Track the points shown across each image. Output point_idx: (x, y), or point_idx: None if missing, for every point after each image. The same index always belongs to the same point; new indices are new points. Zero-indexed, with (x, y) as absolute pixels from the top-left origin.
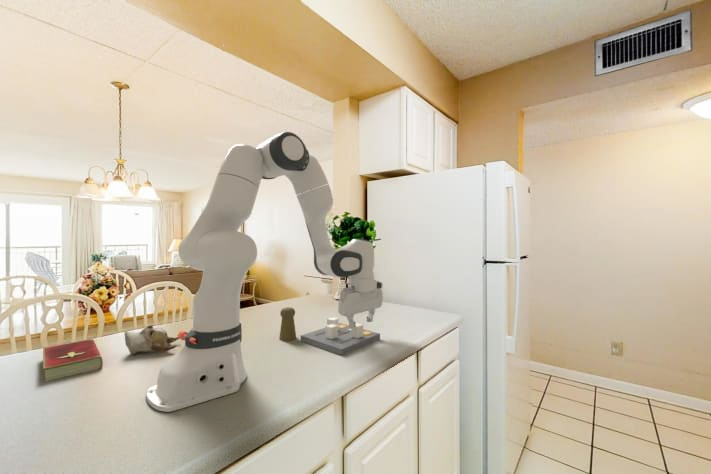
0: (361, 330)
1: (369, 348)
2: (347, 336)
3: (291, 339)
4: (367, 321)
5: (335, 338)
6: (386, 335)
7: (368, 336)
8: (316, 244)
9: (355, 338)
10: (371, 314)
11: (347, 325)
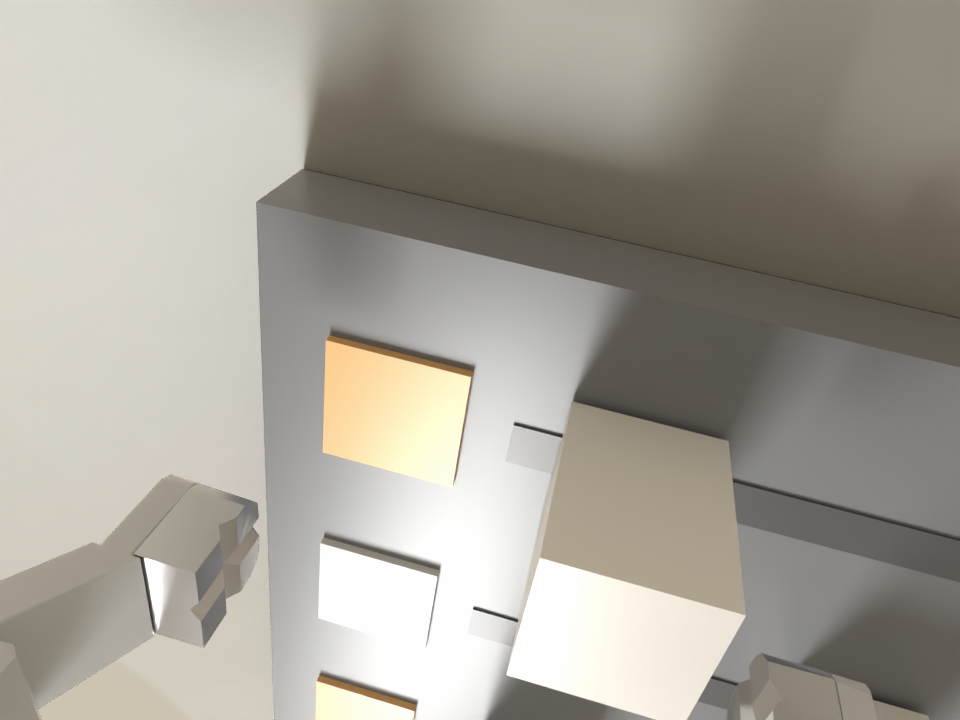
0: (610, 492)
1: (820, 134)
2: None
3: None
4: (258, 546)
5: None
6: (93, 151)
7: (516, 324)
8: None
9: None
10: (81, 612)
11: (282, 684)
